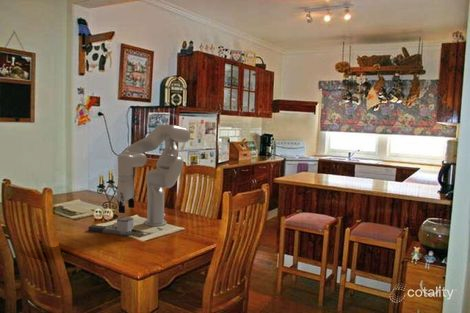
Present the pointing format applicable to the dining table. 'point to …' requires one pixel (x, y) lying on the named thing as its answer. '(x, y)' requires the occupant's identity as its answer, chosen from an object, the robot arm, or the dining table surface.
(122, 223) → the socket
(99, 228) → the ratchet
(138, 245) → the dining table surface
